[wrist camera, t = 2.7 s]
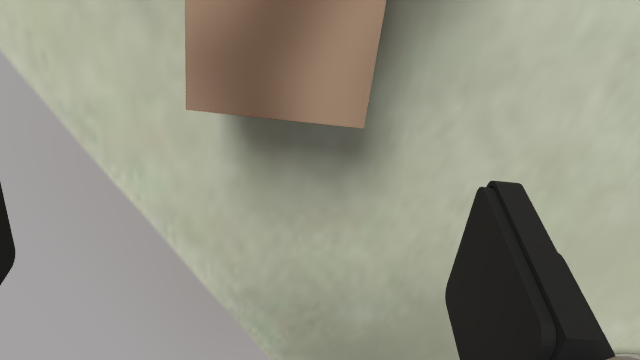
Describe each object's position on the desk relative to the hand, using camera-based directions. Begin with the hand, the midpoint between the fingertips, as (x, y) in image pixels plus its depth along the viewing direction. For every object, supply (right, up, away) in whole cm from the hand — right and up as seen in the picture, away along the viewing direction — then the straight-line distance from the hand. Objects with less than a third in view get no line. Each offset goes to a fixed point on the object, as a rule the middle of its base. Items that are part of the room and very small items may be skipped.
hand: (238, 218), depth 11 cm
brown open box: (0, +10, +16) cm, 19 cm away
